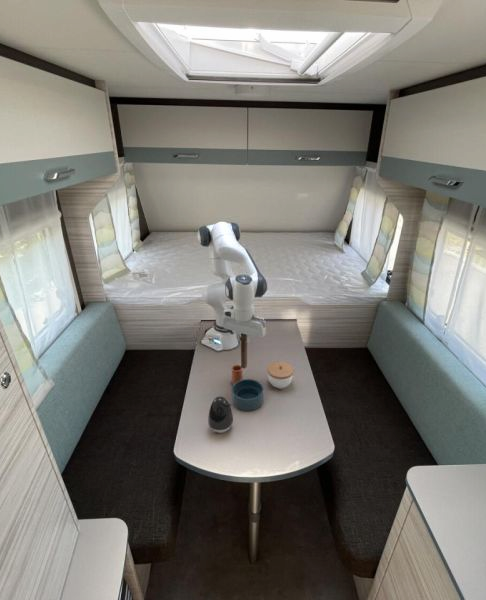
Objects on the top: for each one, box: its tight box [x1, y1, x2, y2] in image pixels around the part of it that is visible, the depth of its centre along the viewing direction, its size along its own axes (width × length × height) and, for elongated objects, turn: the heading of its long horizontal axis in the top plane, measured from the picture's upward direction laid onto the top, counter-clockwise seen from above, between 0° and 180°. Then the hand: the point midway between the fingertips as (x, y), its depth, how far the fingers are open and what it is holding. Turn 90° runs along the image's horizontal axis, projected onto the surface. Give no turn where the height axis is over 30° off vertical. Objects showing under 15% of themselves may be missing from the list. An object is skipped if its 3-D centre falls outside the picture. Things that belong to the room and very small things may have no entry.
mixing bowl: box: [231, 378, 265, 412], centre depth 148 cm, size 14×14×7 cm
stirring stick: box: [240, 333, 248, 370], centre depth 146 cm, size 2×2×18 cm
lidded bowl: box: [266, 361, 294, 390], centre depth 158 cm, size 13×13×11 cm
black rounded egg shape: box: [207, 395, 234, 434], centre depth 132 cm, size 10×10×15 cm
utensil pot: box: [231, 364, 244, 386], centre depth 159 cm, size 5×5×9 cm
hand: (243, 341), depth 144 cm, fingers closed on stirring stick, 2 cm apart
